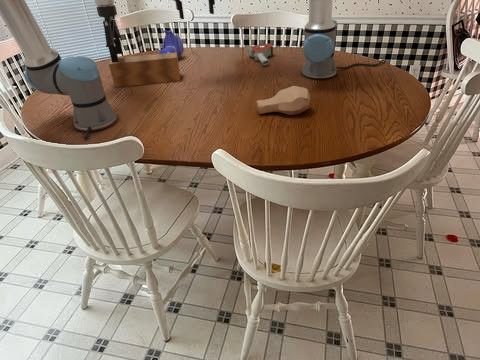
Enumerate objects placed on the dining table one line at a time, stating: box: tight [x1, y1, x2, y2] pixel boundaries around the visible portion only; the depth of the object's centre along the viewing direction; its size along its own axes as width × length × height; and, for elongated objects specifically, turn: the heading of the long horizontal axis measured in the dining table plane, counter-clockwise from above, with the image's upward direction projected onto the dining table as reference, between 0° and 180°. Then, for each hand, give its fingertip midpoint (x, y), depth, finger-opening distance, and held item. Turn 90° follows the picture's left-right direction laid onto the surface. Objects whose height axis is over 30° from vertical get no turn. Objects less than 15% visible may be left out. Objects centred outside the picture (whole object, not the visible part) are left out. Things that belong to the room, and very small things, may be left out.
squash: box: [255, 85, 312, 116], centre depth 130 cm, size 11×20×9 cm, turn 92°
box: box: [108, 52, 181, 88], centre depth 163 cm, size 30×8×11 cm, turn 98°
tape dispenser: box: [247, 43, 274, 67], centre depth 182 cm, size 18×5×20 cm
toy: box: [158, 30, 185, 59], centre depth 184 cm, size 10×17×25 cm
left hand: (117, 58), depth 158 cm, fingers open, 13 cm apart
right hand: (197, 16), depth 148 cm, fingers open, 13 cm apart
